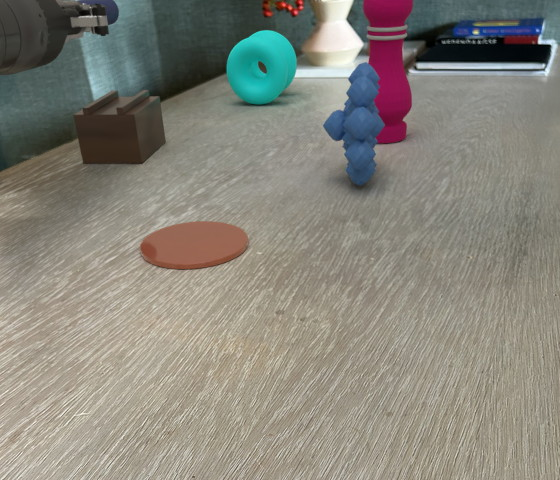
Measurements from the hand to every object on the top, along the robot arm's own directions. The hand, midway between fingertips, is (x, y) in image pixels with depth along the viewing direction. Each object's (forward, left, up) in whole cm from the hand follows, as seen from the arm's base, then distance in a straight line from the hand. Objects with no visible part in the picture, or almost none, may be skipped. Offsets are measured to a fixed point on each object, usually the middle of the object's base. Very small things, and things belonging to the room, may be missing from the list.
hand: (80, 15), depth 76 cm
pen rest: (+3, +5, -17) cm, 18 cm away
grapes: (+23, -21, -17) cm, 36 cm away
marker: (+1, +2, 0) cm, 2 cm away
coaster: (+1, -30, -17) cm, 35 cm away
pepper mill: (+35, -8, -17) cm, 40 cm away
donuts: (+31, +23, -17) cm, 43 cm away
